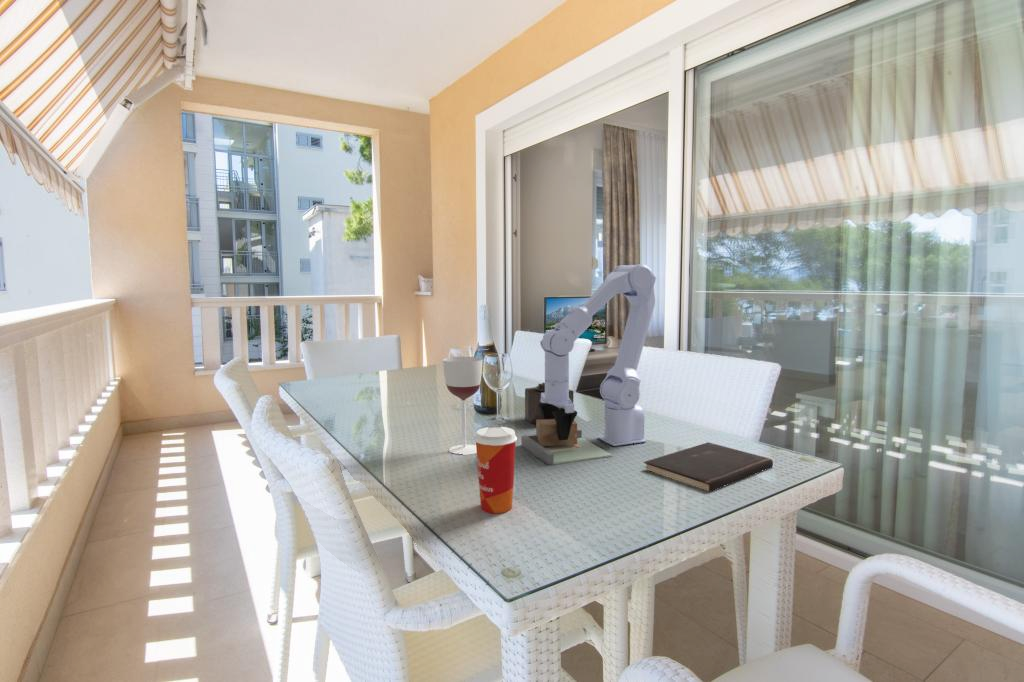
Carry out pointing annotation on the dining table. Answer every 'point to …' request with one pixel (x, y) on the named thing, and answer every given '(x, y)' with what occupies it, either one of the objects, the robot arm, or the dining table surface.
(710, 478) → the hardcover book
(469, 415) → the dining table surface
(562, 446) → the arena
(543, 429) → the walnut block
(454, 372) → the wineglass
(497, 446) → the paper cup
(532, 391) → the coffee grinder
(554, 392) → the robot arm
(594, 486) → the dining table surface
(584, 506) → the dining table surface
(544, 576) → the dining table surface
